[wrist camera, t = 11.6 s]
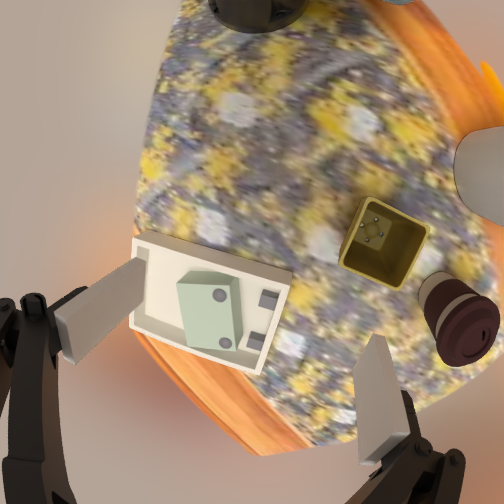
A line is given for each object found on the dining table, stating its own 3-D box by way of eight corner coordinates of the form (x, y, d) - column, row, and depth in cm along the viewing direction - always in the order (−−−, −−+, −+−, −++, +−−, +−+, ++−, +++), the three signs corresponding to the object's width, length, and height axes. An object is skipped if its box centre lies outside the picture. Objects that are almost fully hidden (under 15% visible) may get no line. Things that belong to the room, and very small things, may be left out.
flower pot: (331, 244, 39) (336, 266, 31) (354, 188, 36) (368, 194, 28) (382, 267, 38) (399, 293, 30) (407, 214, 35) (432, 227, 27)
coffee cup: (401, 314, 40) (430, 373, 26) (422, 257, 37) (466, 301, 23) (447, 321, 39) (482, 375, 24) (468, 269, 35) (517, 311, 21)
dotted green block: (189, 270, 44) (175, 283, 39) (238, 272, 42) (228, 286, 37) (198, 330, 47) (187, 346, 42) (243, 333, 45) (235, 352, 40)
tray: (149, 229, 44) (132, 237, 39) (292, 272, 41) (290, 285, 37) (143, 314, 50) (129, 327, 45) (264, 357, 47) (259, 375, 42)
